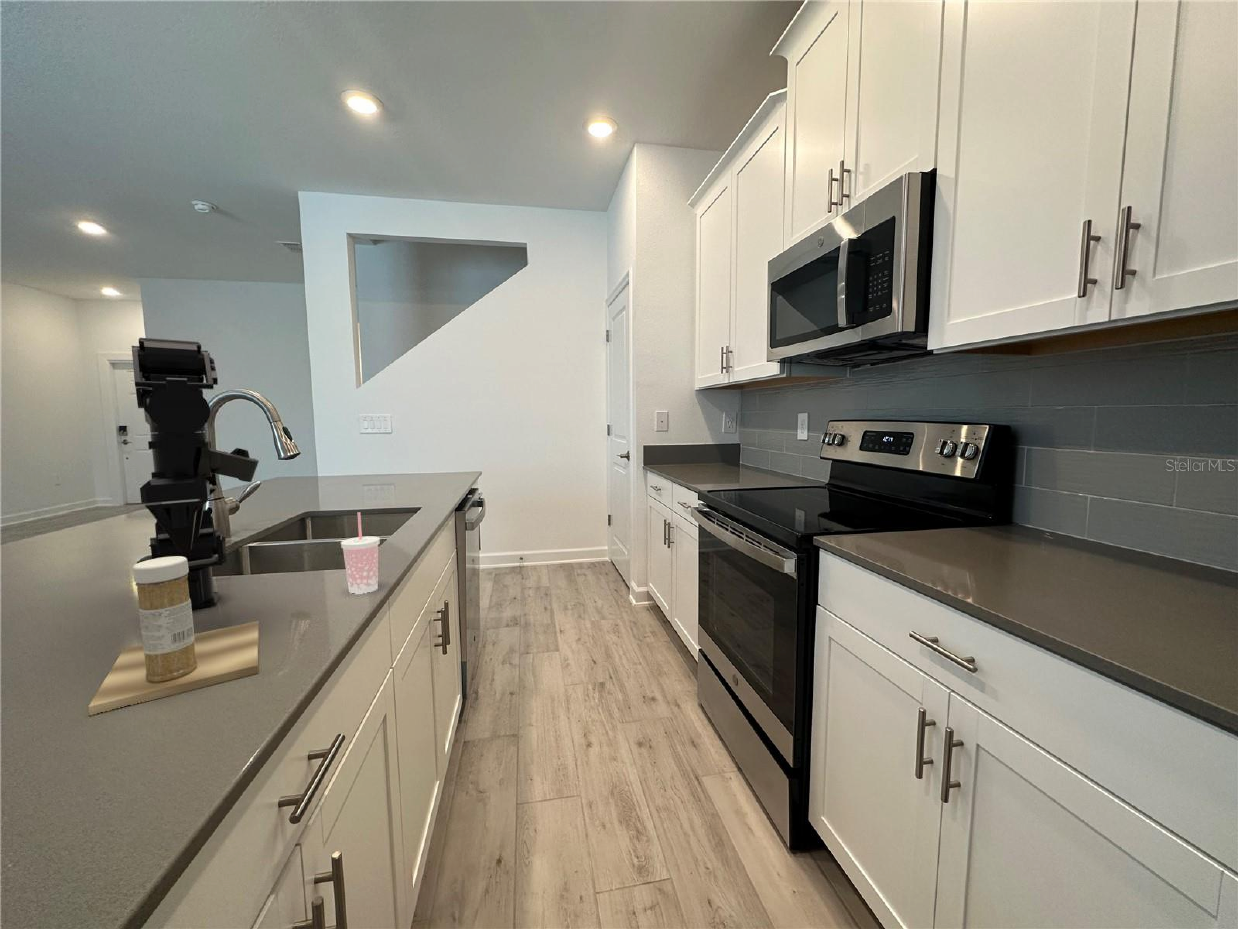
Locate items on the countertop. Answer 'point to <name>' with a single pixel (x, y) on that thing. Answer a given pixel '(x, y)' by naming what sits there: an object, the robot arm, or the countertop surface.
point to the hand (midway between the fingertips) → (189, 544)
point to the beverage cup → (361, 562)
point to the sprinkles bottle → (165, 617)
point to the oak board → (216, 662)
